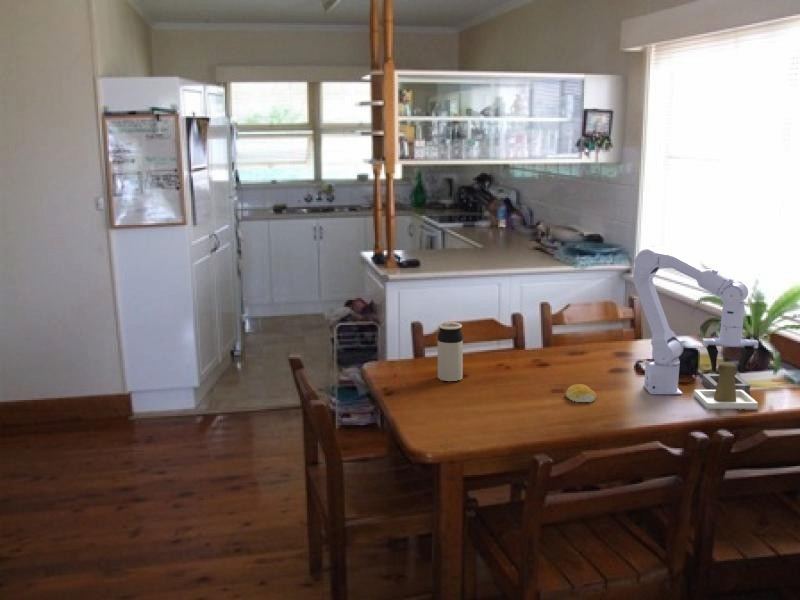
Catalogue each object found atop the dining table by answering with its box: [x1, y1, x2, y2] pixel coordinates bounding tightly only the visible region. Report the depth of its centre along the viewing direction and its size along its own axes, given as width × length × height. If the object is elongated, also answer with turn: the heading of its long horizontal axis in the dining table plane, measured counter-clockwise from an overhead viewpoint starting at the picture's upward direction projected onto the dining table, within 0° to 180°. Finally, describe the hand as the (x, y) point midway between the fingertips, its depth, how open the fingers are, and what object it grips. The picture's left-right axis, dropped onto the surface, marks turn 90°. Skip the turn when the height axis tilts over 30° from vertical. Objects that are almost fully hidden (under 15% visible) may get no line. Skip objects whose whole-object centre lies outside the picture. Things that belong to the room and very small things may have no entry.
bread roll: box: [565, 383, 597, 403], centre depth 223 cm, size 8×9×4 cm
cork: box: [714, 362, 738, 402], centre depth 217 cm, size 6×6×11 cm
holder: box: [701, 373, 751, 394], centre depth 230 cm, size 10×10×2 cm
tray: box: [693, 389, 759, 411], centre depth 217 cm, size 14×11×2 cm
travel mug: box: [437, 321, 464, 381], centre depth 240 cm, size 8×8×18 cm
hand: (727, 370), depth 215 cm, fingers open, 7 cm apart
